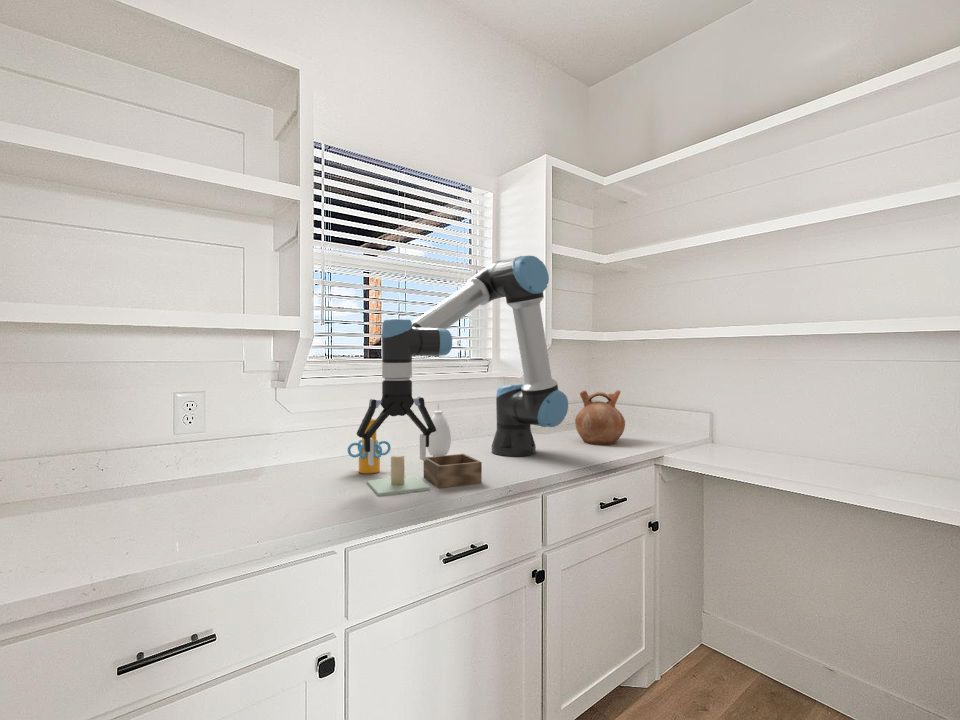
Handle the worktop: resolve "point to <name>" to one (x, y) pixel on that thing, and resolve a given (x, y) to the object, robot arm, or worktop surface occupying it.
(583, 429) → the jug
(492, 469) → the worktop surface
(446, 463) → the box
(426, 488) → the lid
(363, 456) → the cylinder
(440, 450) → the sauce bottle
